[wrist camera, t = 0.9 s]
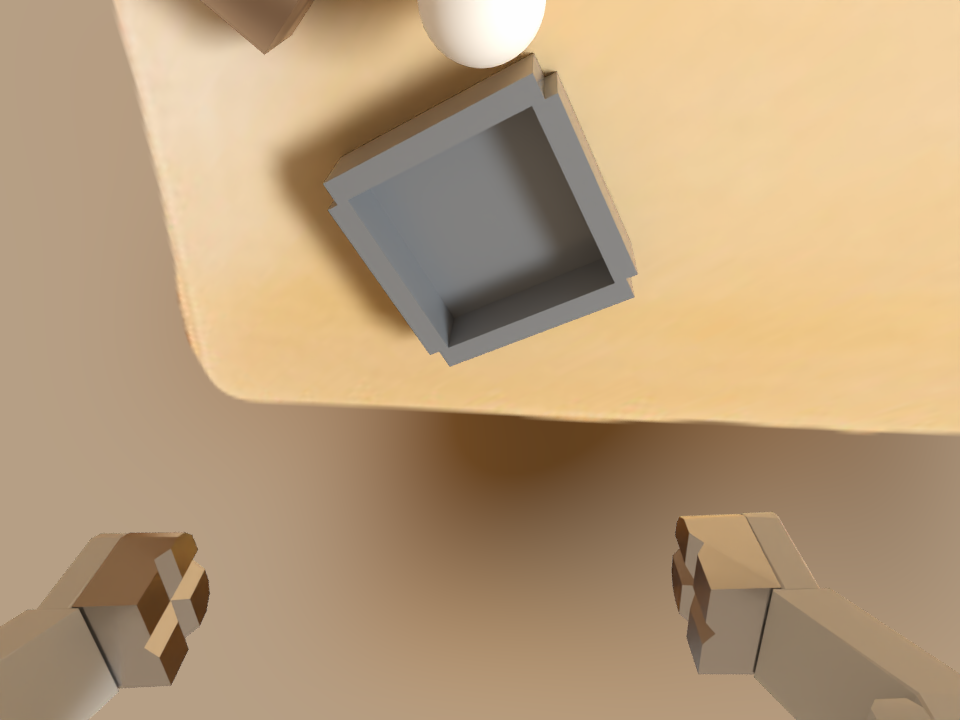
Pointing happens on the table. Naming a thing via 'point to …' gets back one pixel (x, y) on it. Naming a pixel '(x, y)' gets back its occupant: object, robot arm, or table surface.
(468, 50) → the lightbulb
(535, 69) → the gray square tray
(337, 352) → the table surface
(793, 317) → the table surface
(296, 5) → the walnut block
